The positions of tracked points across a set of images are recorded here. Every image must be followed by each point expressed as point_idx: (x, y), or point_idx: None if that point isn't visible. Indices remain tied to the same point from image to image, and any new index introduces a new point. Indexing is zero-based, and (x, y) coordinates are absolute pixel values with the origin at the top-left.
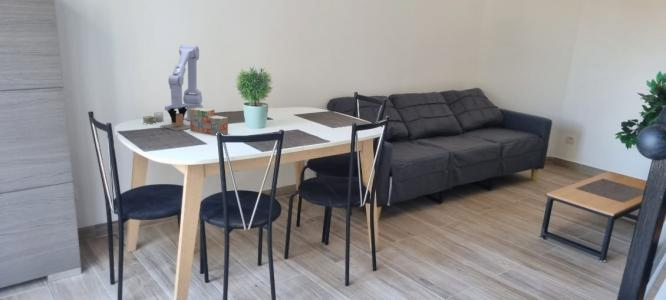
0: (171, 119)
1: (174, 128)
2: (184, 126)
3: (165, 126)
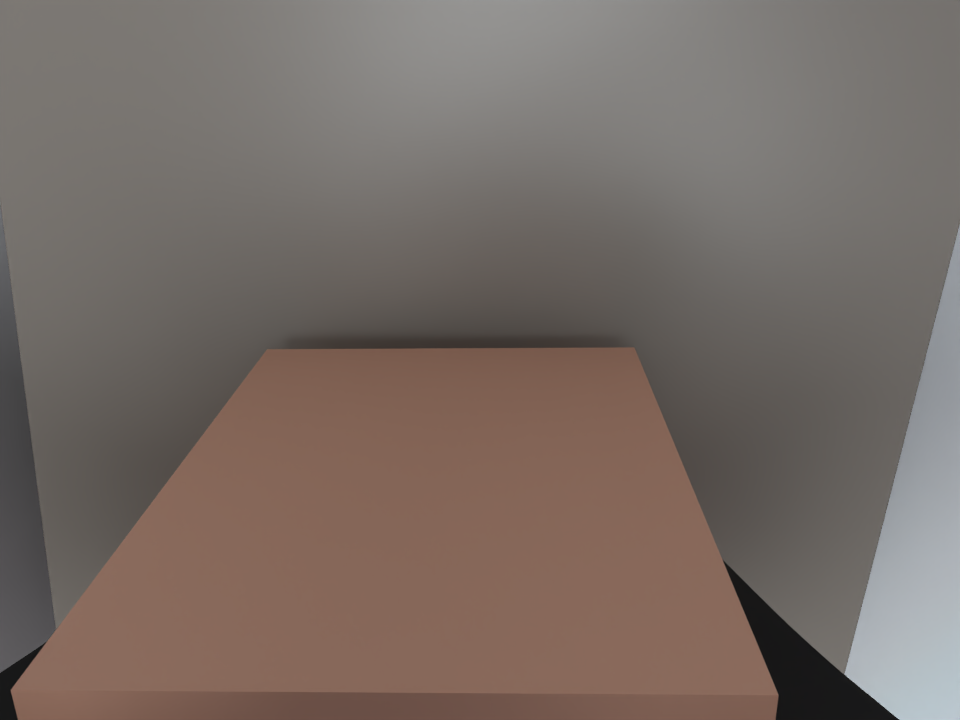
0: (188, 472)
1: None
2: None
3: (55, 197)
